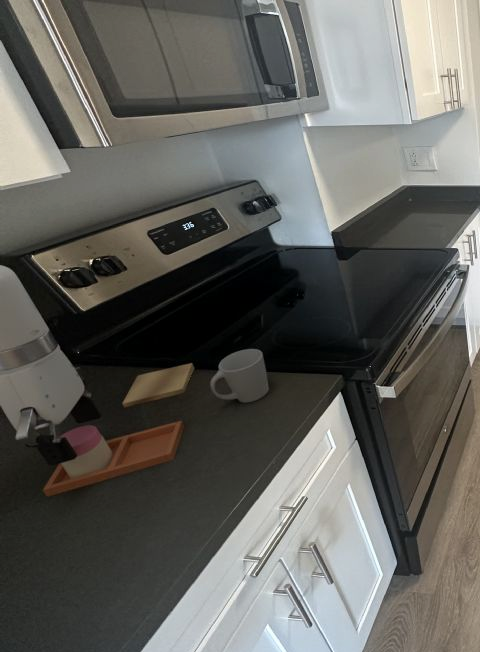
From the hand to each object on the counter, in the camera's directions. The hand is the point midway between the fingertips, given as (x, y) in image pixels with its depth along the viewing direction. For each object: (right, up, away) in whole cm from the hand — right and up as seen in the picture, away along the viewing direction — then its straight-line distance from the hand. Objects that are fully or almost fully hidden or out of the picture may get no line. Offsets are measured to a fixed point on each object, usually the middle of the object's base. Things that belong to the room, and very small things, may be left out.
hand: (77, 439), depth 69 cm
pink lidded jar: (0, -5, +3) cm, 6 cm away
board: (-4, +3, +22) cm, 23 cm away
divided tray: (+3, -5, +4) cm, 7 cm away
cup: (+16, +2, +18) cm, 24 cm away
